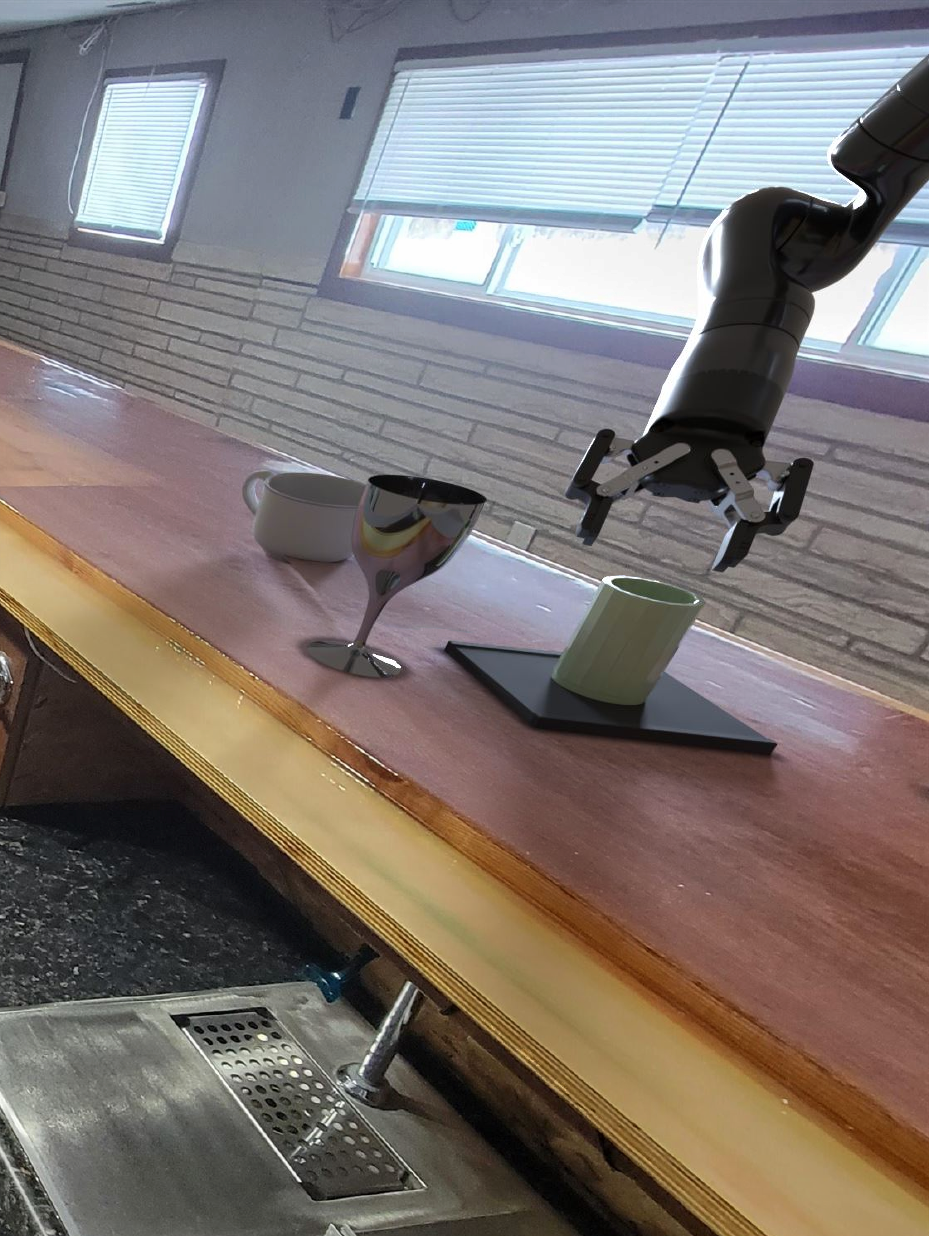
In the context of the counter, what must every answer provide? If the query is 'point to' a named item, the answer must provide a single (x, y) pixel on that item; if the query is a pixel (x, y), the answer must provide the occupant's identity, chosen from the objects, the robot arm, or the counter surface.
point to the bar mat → (603, 703)
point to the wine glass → (399, 553)
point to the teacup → (303, 514)
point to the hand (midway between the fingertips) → (653, 553)
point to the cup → (626, 639)
